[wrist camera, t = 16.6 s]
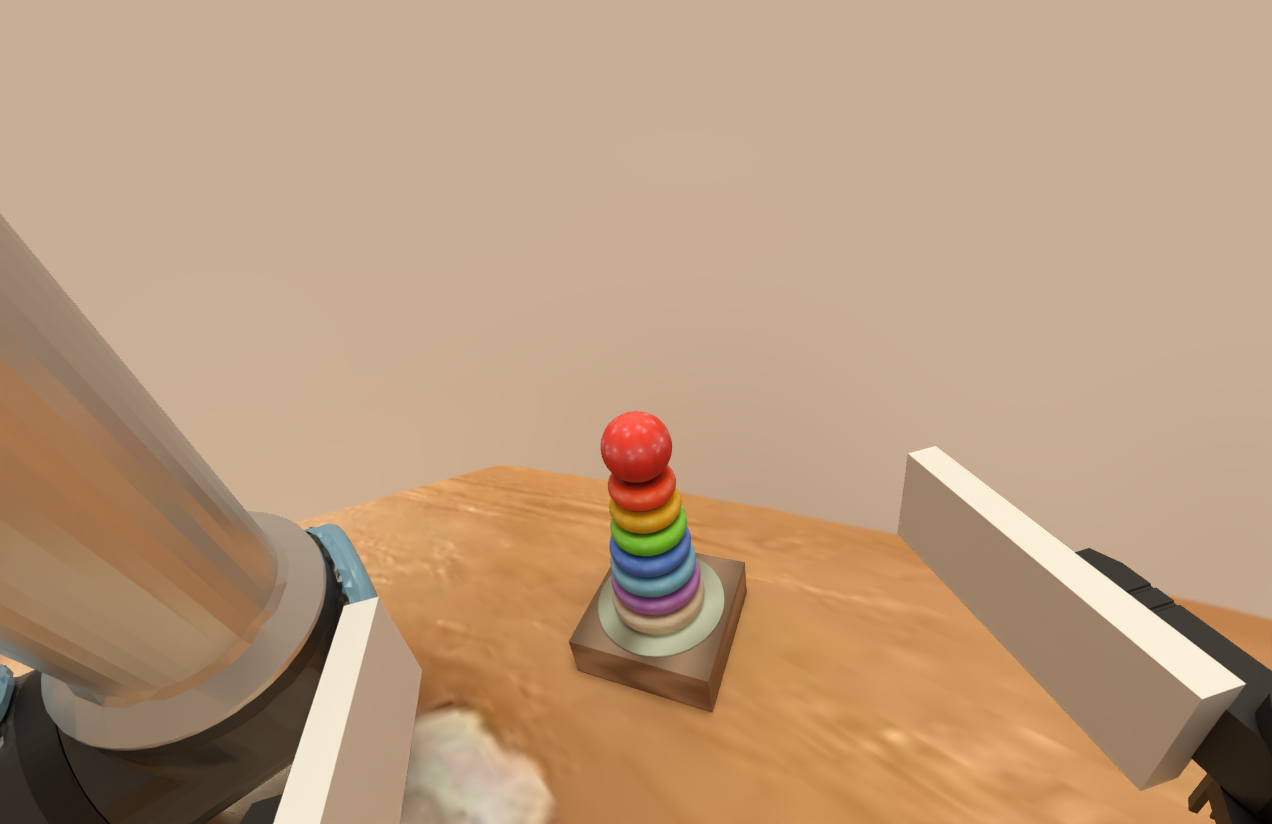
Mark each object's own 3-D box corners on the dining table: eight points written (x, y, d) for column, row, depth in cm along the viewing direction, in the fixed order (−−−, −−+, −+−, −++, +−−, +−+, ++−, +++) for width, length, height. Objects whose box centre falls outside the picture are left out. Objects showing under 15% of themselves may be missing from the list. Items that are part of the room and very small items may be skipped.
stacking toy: (619, 648, 43) (569, 460, 33) (611, 573, 50) (567, 400, 40) (715, 628, 43) (693, 436, 34) (694, 556, 50) (670, 380, 40)
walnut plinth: (578, 670, 46) (568, 639, 44) (631, 567, 56) (625, 537, 53) (712, 712, 42) (707, 679, 40) (746, 592, 51) (744, 560, 49)
